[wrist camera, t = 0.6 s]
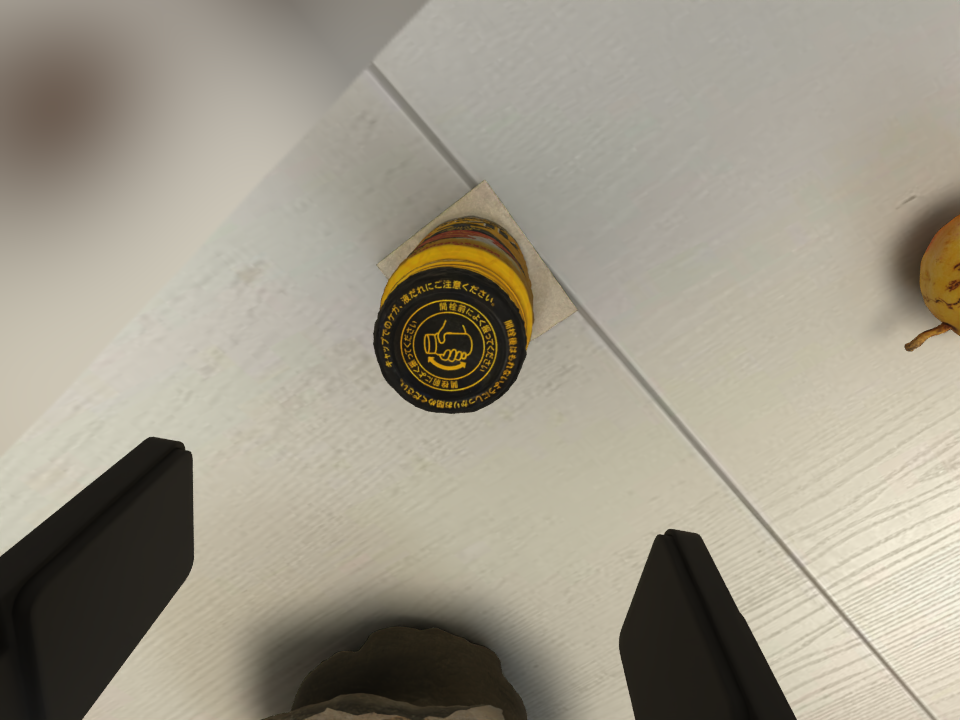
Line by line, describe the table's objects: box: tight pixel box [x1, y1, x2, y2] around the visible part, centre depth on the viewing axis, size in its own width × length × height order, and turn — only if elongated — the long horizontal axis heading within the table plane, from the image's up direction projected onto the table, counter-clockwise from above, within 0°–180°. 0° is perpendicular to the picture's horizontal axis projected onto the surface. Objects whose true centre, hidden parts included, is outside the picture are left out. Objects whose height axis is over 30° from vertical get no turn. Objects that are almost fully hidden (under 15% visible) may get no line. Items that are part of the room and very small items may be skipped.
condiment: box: [373, 180, 578, 414], centre depth 24 cm, size 7×8×12 cm
